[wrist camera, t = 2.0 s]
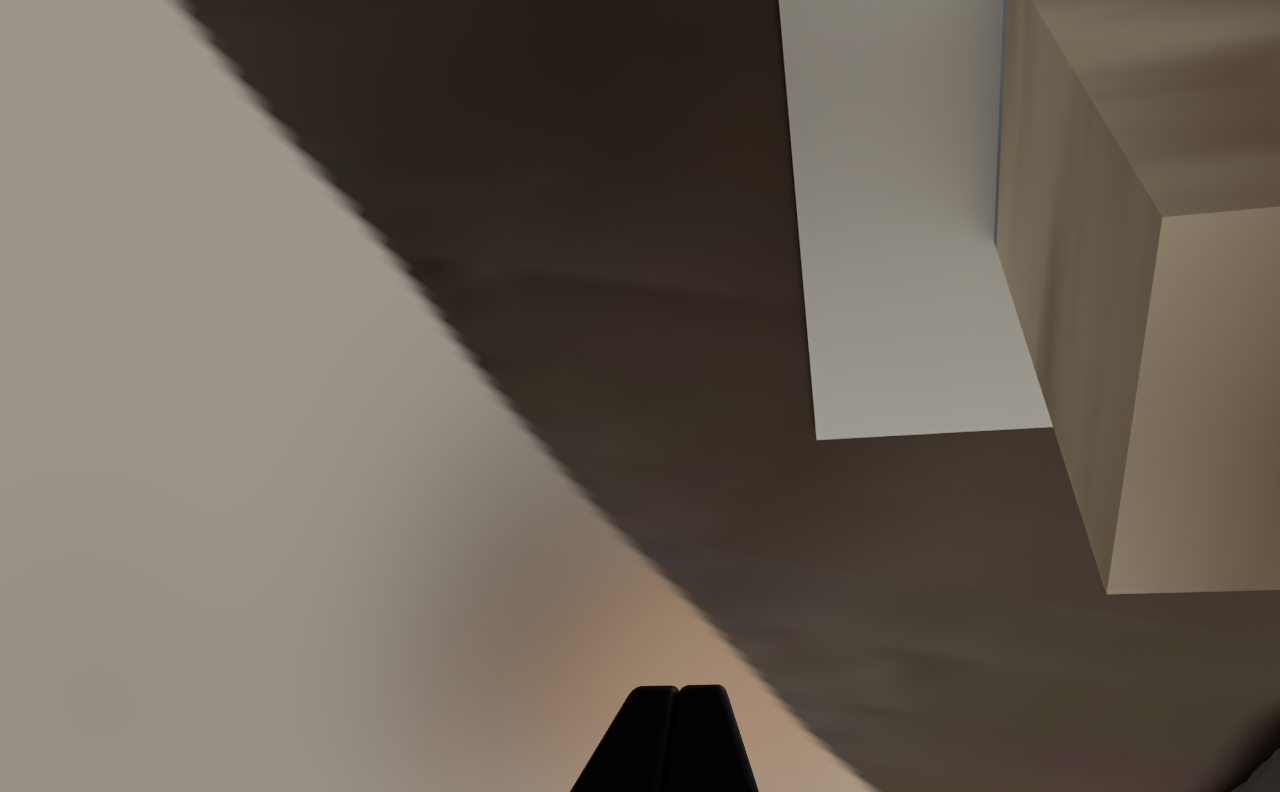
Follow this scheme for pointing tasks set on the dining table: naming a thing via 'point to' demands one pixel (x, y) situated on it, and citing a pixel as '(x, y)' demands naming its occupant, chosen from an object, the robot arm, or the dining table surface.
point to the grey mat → (903, 218)
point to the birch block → (1151, 274)
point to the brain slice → (1264, 777)
